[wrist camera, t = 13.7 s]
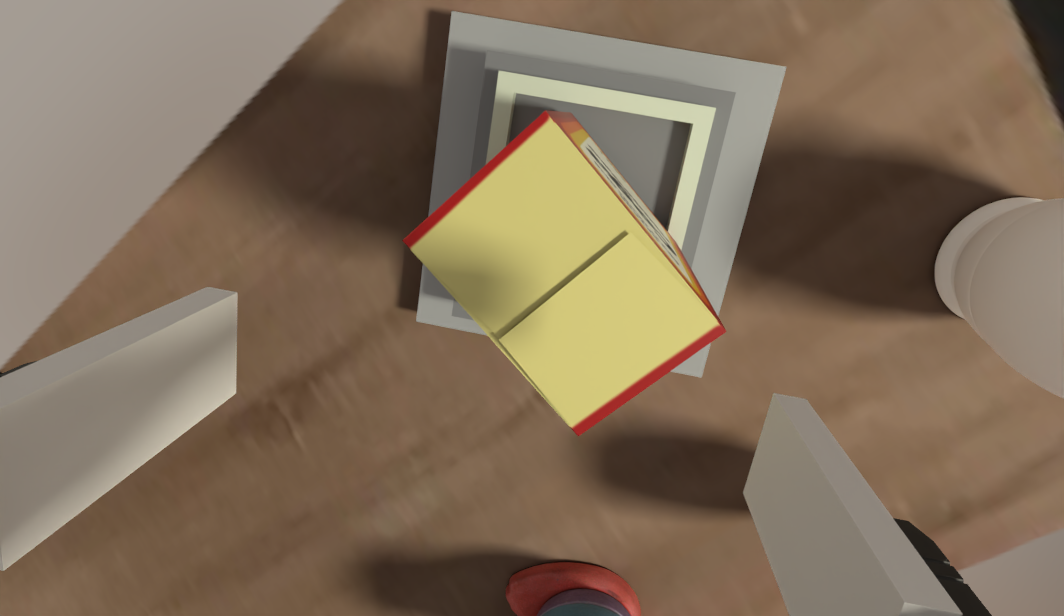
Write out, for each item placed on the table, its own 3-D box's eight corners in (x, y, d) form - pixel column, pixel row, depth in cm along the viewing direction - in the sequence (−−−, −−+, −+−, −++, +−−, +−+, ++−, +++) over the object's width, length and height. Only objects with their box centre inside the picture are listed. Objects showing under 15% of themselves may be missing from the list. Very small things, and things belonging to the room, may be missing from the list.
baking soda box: (485, 189, 36) (399, 242, 21) (571, 112, 35) (544, 110, 19) (588, 310, 38) (577, 441, 23) (676, 242, 36) (728, 335, 21)
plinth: (424, 312, 46) (398, 341, 40) (459, 16, 39) (434, -1, 34) (697, 366, 44) (710, 403, 39) (777, 69, 38) (807, 61, 33)
